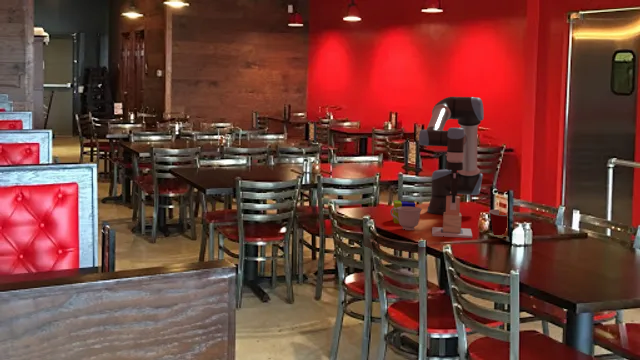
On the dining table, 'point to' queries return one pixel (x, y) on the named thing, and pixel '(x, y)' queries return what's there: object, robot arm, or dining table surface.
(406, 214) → the teacup
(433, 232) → the base
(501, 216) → the plastic cup
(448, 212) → the terracotta block
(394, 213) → the puzzle toy
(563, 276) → the dining table surface
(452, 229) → the oak cube
